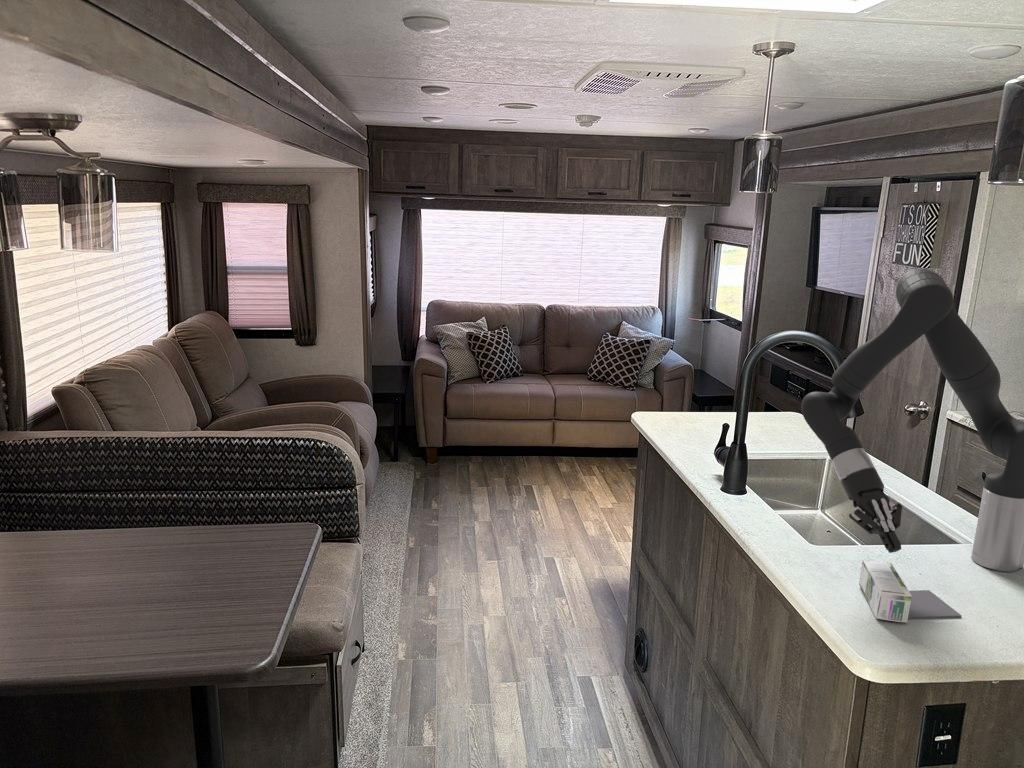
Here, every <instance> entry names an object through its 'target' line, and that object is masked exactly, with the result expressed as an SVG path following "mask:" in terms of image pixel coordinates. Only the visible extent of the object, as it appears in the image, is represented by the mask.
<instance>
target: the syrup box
mask: <svg viewBox="0 0 1024 768" xmlns="http://www.w3.org/2000/svg"><path fill="white" fill-rule="evenodd" d="M858 585H859V587H860V589H861V591H862V593H863V595H864V597H865V599H866V601H867V604H868V605H869V607H870V609H871V611H872V613H873V615H874V617H875V619H876V620H884V621H889V622H890V621H892V622H898V623H908V620H909V619H908V615H909V609H910V604H911V598H912V595H911V594H910V592H909V591H910V590H909V589H908V587H907V586H906V584H905V583H904V581H903V580H902V578H901V576H900V574H899V573H898V572H897V570H896V569H895V567H894V566H893V563H891V562H883V561H882V562H881V561H871V560H862V563H861V571H860V576H859V582H858Z"/></svg>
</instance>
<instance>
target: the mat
mask: <svg viewBox="0 0 1024 768" xmlns="http://www.w3.org/2000/svg"><path fill="white" fill-rule="evenodd" d="M908 591H909V592H910V594H911V595H912V598H911V604H910V609H909V615H908V620H914V619H915V620H918V619H919V620H920V619H949V618H952V619H953V618H962V614H961V613H960V612H958V611H957V610H955V608H952V606H950V605H949V604H947V603H946V602H945V601H944V600H942V599H941V598H940V597H939V596H937V595H936V594H934V593H933V591H931V590H929V589H925V590H918V589H917V590H908Z"/></svg>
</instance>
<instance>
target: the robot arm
mask: <svg viewBox="0 0 1024 768" xmlns="http://www.w3.org/2000/svg"><path fill="white" fill-rule="evenodd" d="M895 287H896V289H895V297H896V301H897V304H898V306H899V307H900V309H899V311H898V313H897V314H896V315H895V317H894V318H893V319H892V321H891V322H890V323H889V325H888V326H886V327H885V329H884V330H882V331H881V332H880V333H879V334H877V335H876V336H874V337H873V338H871V339H870V340H868V341H866V342H864V343H863V344H861V345H860V346H859V347H857V348H855V349H854V350H853V351H852V352H851V353H850V354H849V355H848V356H847V358H846V359H845V360H844V361H842V363H841V364H840V365H839V366H838V368H837V369H835V371H834V372H833V374H832V376H831V384H832V385H833V387H832V389H831V390H830V391H829V392H823V391H812V392H809V393H807V394H806V395H805V396H803V398H802V401H801V405H800V406H801V408H800V409H801V414H802V417H803V419H804V420H805V423H806V424H807V425H808V427H809V428H810V429H811V431H813V433H814V434H815V435H816V437H817V438H818V439H819V440H820V441H821V443H822V444H823V445H824V447H825V450H826V452H827V454H828V456H829V458H830V461H831V463H832V465H833V467H834V471H835V473H836V476H837V477H838V480H839V481H840V484H841V486H842V488H843V490H844V492H845V494H846V496H847V498H848V500H850V501H852V506H853V507H854V508H853V511H852V512H850V513H849V514H848V517H849V518H850V519H851V521H853V522H855V524H857V525H858V526H859V527H861V528H862V529H863V530H865V531H866V532H867V534H869V535H873V534H875V535H876V536H878V537H879V538H880V539H881V541H882V544H883V546H884V548H885V549H886V551H887V552H888V553H892V554H893V553H897V552H898V551H900V550H902V544H901V541H900V539H899V537H898V536H897V534H896V530H897V529H899V528H900V527H901V519H902V511H903V505H902V504H901V503H899V502H898V503H896V504H895V503H893V502H892V501H890V498H889V497H888V495H886V493H885V491H884V489H885V484H884V482H883V481H882V479H881V477H880V475H879V473H878V471H877V469H876V467H875V465H874V463H873V462H872V460H871V458H870V456H869V454H868V453H867V452H866V450H865V448H864V446H863V445H862V443H861V440H860V439H859V436H858V435H857V433H856V431H855V430H854V429H853V428H852V427H850V426H847V425H846V424H844V423H843V422H842V421H843V420H845V419H846V418H847V417H848V416H849V415H850V413H851V412H852V410H853V408H854V406H855V405H856V403H857V402H858V399H859V397H860V395H861V393H863V391H864V390H865V389H866V388H867V387H868V386H869V385H870V384H871V383H872V382H873V381H874V380H875V379H876V378H877V376H878V375H879V374H880V373H881V372H883V370H884V369H885V368H886V367H887V366H888V365H889V364H890V363H891V362H892V361H893V360H894V359H896V358H897V357H898V356H899V355H900V354H902V353H903V352H905V350H906V349H907V348H909V347H910V346H911V345H912V344H914V343H915V342H916V341H917V340H918V339H920V338H921V337H922V336H924V337H925V338H926V341H927V343H928V346H929V347H930V350H931V353H932V355H933V357H934V358H935V361H936V363H937V365H938V367H939V369H940V371H941V373H942V375H943V376H944V378H945V379H946V381H947V383H948V384H949V386H950V387H951V388H952V390H953V392H954V393H955V394H956V396H957V397H958V399H959V400H960V402H961V404H962V405H963V407H964V408H965V410H966V411H967V413H968V415H969V416H970V418H971V420H972V422H973V425H974V427H975V429H976V431H977V433H978V435H979V437H980V439H981V442H982V444H983V445H984V447H985V449H986V450H987V451H988V452H989V453H990V454H991V455H993V456H995V457H997V458H1000V459H1002V460H1004V461H1006V462H1005V467H1004V469H1003V472H1001V471H1000V472H991V473H988V474H986V476H985V478H984V482H983V483H984V484H983V488H982V495H981V500H980V505H979V506H980V507H979V512H978V518H977V523H976V527H975V533H974V540H973V545H972V551H971V560H972V561H973V562H975V563H976V564H978V565H980V566H981V567H985V568H988V569H990V570H993V571H999V572H1008V573H1009V572H1017V571H1018V570H1019V569H1023V568H1024V420H1021V419H1018V418H1016V417H1014V416H1013V415H1012V414H1011V413H1009V411H1008V410H1007V409H1006V407H1005V405H1004V404H1003V403H1002V400H1001V399H1000V396H999V394H1000V393H999V392H1000V389H1001V382H1002V381H1001V375H1000V374H1001V373H1000V371H999V369H998V367H997V366H996V363H995V362H994V361H993V359H992V356H991V355H990V354H989V352H988V351H987V349H986V348H985V347H984V345H983V344H982V343H981V341H980V340H979V339H978V337H977V336H976V334H975V333H974V332H973V331H972V330H971V329H970V327H969V326H968V325H967V324H966V323H965V322H964V320H963V319H962V318H961V316H960V315H959V313H958V312H957V310H956V308H955V305H954V301H955V300H954V294H953V293H952V291H951V289H950V287H949V286H948V284H947V283H946V281H945V279H944V278H943V277H942V275H939V274H938V273H937V272H935V271H933V270H930V269H927V268H914V269H913V268H912V269H910V270H908V271H906V272H905V273H904V274H903V275H902V276H901V277H900V278H899V280H898V282H897V284H896V286H895Z"/></svg>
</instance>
